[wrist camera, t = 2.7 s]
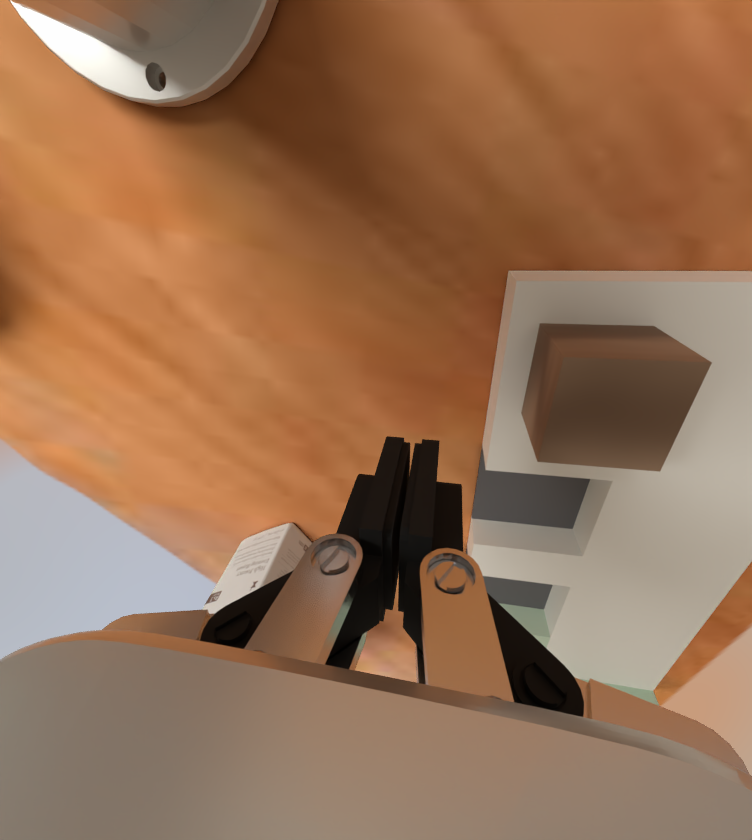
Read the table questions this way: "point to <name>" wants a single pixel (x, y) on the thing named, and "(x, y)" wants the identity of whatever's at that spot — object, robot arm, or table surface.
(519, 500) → the board
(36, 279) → the table surface
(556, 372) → the walnut block
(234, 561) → the skincare box
